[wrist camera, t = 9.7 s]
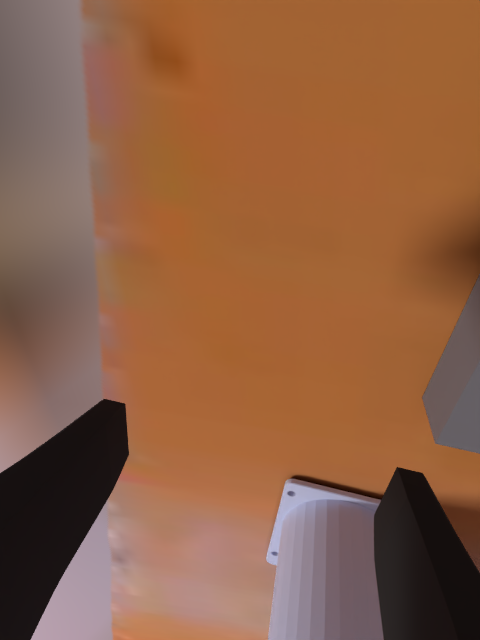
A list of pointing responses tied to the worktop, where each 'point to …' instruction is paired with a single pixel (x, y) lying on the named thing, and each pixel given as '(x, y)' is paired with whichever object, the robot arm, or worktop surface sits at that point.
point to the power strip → (458, 383)
